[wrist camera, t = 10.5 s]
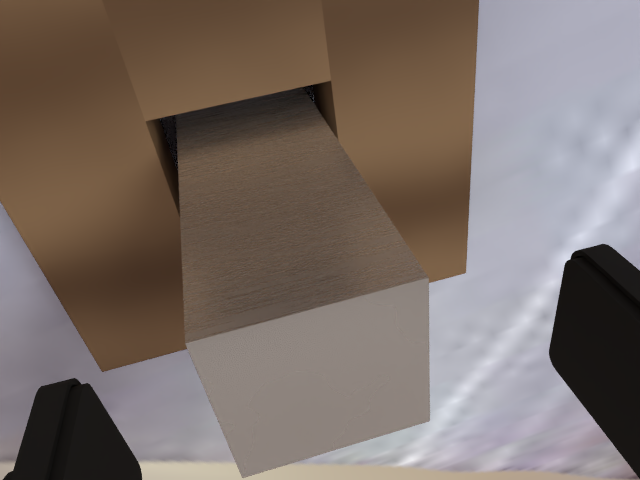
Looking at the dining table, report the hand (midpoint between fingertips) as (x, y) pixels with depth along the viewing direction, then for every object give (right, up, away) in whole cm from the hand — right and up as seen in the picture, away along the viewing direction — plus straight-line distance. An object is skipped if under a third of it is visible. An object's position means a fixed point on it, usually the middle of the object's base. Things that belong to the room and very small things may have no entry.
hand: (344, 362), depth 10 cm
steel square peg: (-3, +6, +8) cm, 10 cm away
